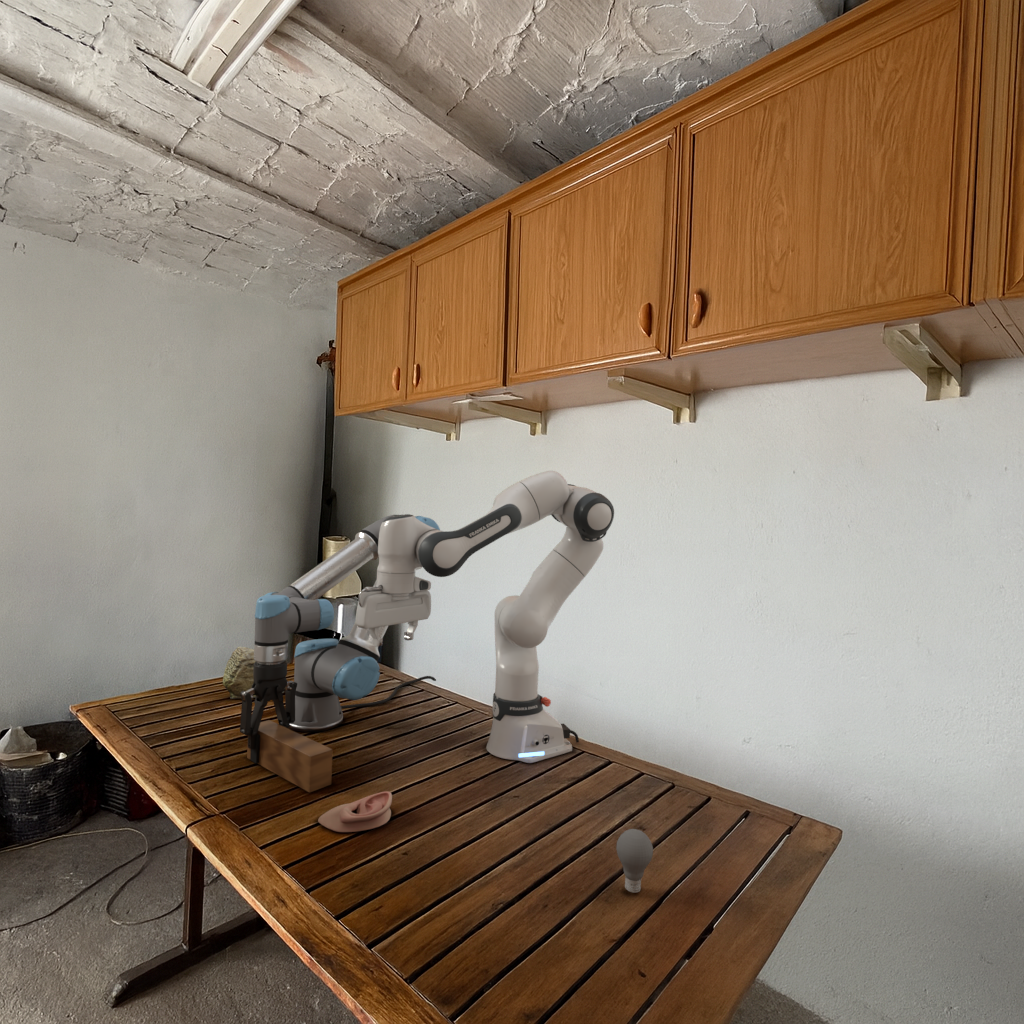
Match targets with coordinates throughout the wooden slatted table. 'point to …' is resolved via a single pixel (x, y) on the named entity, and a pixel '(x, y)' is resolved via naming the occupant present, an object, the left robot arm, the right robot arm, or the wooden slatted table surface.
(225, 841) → the wooden slatted table surface
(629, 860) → the light bulb
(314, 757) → the bar
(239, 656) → the fossil
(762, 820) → the wooden slatted table surface
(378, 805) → the anatomical model
